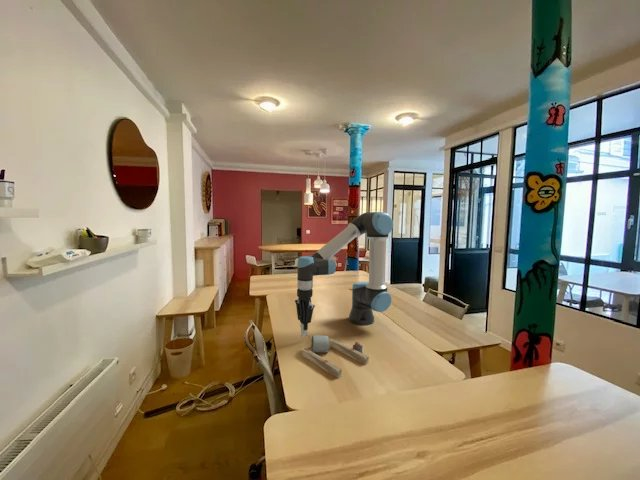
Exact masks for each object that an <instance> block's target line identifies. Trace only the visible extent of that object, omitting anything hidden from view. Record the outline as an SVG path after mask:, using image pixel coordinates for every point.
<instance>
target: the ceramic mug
mask: <svg viewBox="0 0 640 480" xmlns="http://www.w3.org/2000/svg"><path fill="white" fill-rule="evenodd" d="M330 339H331V338H330V336H328V335H318V334H317V335H316V334H312V335H311V341H310V342H311V345H310V346H311V351H312V352H313V353H315V354H318V353H328V352H330V351H331V347H330Z"/></svg>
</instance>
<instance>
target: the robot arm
mask: <svg viewBox="0 0 640 480" xmlns="http://www.w3.org/2000/svg"><path fill="white" fill-rule="evenodd" d="M393 228H394V221H393V218H392V217H391V215H390V214H389V213H387V212H383V211H377V212H374V211H372V212H371V211H370V212H369V211H367V212H366V211H365V212H364V213H361V214H359V215H358V216H357V217H355V218H354V219H353V220H351V221H350V222H349V223H348V224H347V227H345V228H344V229H343V230H342V231H341V232H340V233H338V234H337V235H336V236H334V237H333V238H332V239H331V240H330V241H328V242H327V243H326V244H325V245H324V246H322V247H321V248H319V250H317V251H316V252H314V253H313V254H312V255H307V256H306V255H305V256H299V257H298V259H297V264H296V267H297V270H296V271H297V275H296V276H297V277H296V278H297V283H296V284H297V285H296V286H297V287H296V288H297V289H296V296H297V298H298V299H295V300H294V302H295V307H296V315H297V320H298V321H300V322H299V323H300V336H301V337H307V336H308V329H309V326H308V325H309V324H310V323H312V319H313V313H314V309H315V307H316V305H315V304H312V297H313V293H314V292H313V290H314V289H313V288H314V276H316V277H317V276H330V275H334V274H335V273H336V270H337V265H336V262H335V260H333V259H331V258H332V257H333V256H335V255H336V254H337V253H338V252H340V251H341V250H342V249H343V248H345V247H346V246H347V245H348V244H349V243H351V242H352V241H353V240H354V239H355V238H359V237H361V236H362V235H363V234H366V238H367V239H368V241H369V242H368V243H369V247H368V248H369V249H368V251H369V253H368V281H361V282H360V281H358V282H354V283H353V284H352V289H351V291H352V292H351V295H352V296H351V297H352V299H351V310H350V313H349V316H348V321H349V322H350V323H352V324H355V325H362V326H365V325H368V326H369V325H372V324H374V322H375V316H374V312H376V313H384V312H386V311H387V310H388V309H389V308H390V306H391V304H392V302H393V301H392V295H391V294H390V293H389V292H388V285H387V284H386V283H385V281H386V277H385V276H386V240H387V239H388V238H389V234H390V233H391V232H392V230H393ZM373 311H374V312H373Z"/></svg>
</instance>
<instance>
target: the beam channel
mask: <svg viewBox="0 0 640 480" xmlns="http://www.w3.org/2000/svg"><path fill="white" fill-rule="evenodd" d="M330 348H333V349H335V350H337V351H338V352H340V353H342V354H344V355H346V356H348V357H349V358H352V359H354V360H355V361H357V362H359V363H361V364H363V365H365V366H366V365H367V364H369V360H370V359H369V357H370V356H368V355H366V354H365V353H363V345H361V342H360V341H355V343H354V344H353V345H352V347H350V346H348V345H346V344H344V343H342V342H340V341H338V340H336V339H333V338H330ZM301 357H303V358H305V359H306V360H308V361H310V362H311V363H313V364H314V365H316V366H317V367H319V368H321V369H323V371H325V372H327V373H328V374H331V375H332V376H333V377H335V378H336V379H340V378H342V375H343V369H342V368H340V367H339V366H337V365H336V364H334V363H332V362H330V361H329V360H328V359H325V358H324V357H321V355H318V353H313V352H312V350H310V349H308V348H306V347H305V348H302V349H301Z"/></svg>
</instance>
